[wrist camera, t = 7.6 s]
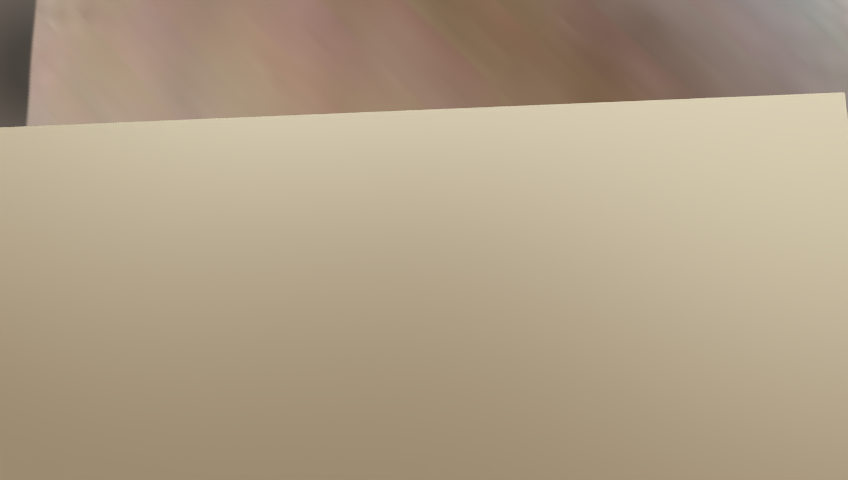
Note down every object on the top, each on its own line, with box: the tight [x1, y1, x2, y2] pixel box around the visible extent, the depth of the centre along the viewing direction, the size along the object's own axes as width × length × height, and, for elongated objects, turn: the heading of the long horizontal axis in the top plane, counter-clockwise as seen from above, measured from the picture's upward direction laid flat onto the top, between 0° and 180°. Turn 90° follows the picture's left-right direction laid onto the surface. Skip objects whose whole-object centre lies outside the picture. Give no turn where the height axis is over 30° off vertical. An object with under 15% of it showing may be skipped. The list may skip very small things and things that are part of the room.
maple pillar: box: [0, 92, 848, 480], centre depth 9 cm, size 5×5×13 cm
